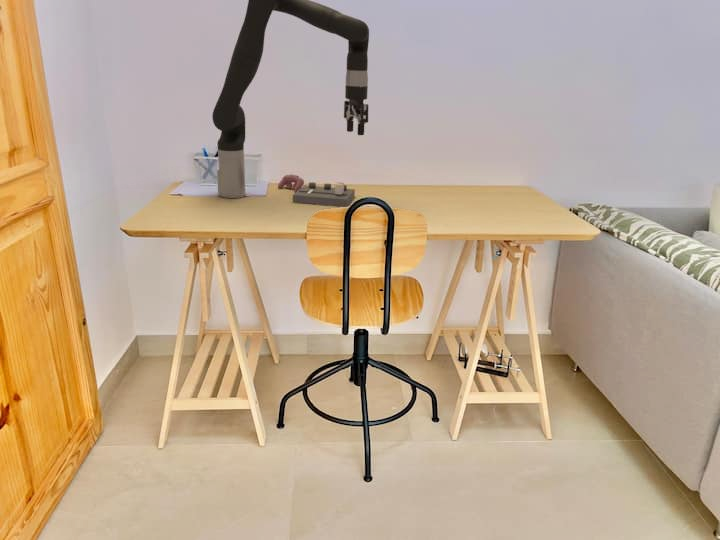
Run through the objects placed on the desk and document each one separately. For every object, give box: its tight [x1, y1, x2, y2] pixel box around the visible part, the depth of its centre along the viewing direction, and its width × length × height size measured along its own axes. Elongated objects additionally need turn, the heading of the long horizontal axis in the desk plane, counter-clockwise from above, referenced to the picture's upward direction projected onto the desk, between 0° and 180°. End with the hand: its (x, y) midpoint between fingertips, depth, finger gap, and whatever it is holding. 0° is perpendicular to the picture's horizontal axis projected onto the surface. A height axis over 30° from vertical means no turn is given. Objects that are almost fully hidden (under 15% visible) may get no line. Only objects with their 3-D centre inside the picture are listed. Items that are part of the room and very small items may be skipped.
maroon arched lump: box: [277, 173, 305, 193], centre depth 218 cm, size 10×5×7 cm, turn 58°
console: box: [292, 182, 356, 207], centre depth 206 cm, size 20×16×5 cm
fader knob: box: [334, 181, 345, 195], centre depth 202 cm, size 2×4×4 cm, turn 171°
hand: (355, 133), depth 193 cm, fingers open, 8 cm apart
